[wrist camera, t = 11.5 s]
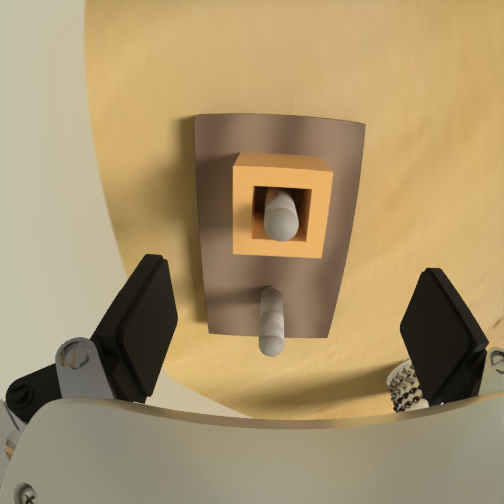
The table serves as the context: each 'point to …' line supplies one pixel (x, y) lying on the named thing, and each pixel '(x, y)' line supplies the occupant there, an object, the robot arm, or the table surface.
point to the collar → (280, 175)
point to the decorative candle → (405, 388)
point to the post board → (273, 226)
